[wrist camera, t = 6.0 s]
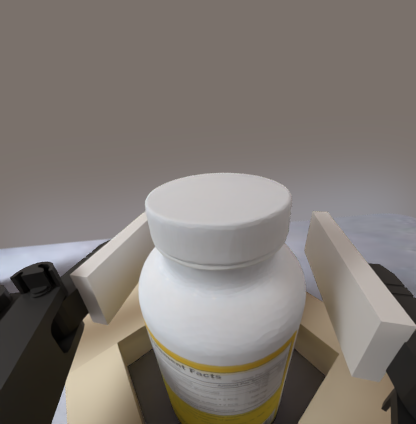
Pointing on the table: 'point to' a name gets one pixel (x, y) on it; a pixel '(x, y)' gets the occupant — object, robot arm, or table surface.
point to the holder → (140, 344)
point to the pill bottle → (222, 295)
